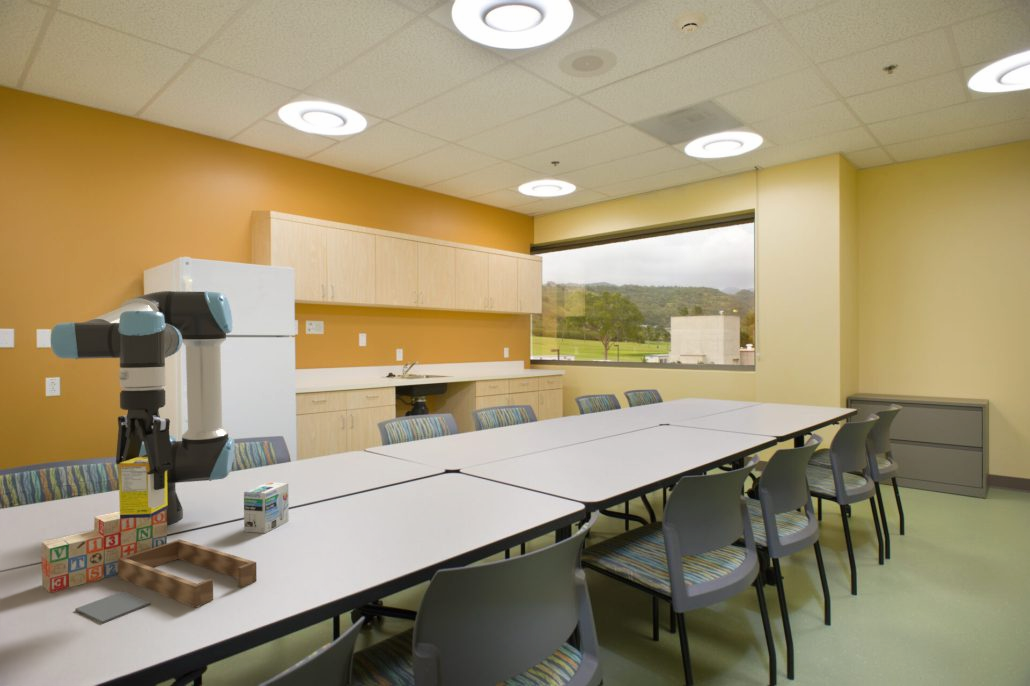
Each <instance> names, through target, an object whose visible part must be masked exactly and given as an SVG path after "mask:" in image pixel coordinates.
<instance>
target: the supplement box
mask: <svg viewBox="0 0 1030 686" xmlns="http://www.w3.org/2000/svg"><path fill="white" fill-rule="evenodd" d="M149 471H151V470H150V466H149V462H148V458H147V457H136V458H133V459H130V460H127V461H124V462H121V463H120V464H118V488H119V489H118V491H119V492H118V493H119V495H118V496H119V497H118V498H119V511H120V519H121V518H151V517H153V516H155V515H157V514H158V513H160V512H162V511H164V510H166V509H167V508H168V501H167V500H168V499H167V471H165V504H163V505H159V506H155V507H151V508H149V507H148V474H147V472H149Z"/></svg>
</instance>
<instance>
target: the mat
mask: <svg viewBox="0 0 1030 686" xmlns="http://www.w3.org/2000/svg"><path fill="white" fill-rule="evenodd" d="M150 605H151V602H149V601H147V600H145V599H142V598H139V597H137V596H135V595H133V594H129V593H127V592H125V591H120V592H116V593H114V594H111V595H108V596H106V597H103V598H100V599H98V600H94V601H92V602H90V603H87V604H84V605H82V606H77V607H76V608H75V611H76V612H77V613H80V614H82V615H84V616H86V617H88V618H91V619H92V620H94V621H96V622H99V623H101V624H102V625H103V624H105V623H107V622H110V621H112V620H116V619H117V618H120V617H122V616H125V615H128V614H130V613H133V612H134V611H135V612H136V611H137V610H138V611H139V609H142V608H146V607H148V606H150Z"/></svg>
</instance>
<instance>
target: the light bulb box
mask: <svg viewBox="0 0 1030 686" xmlns="http://www.w3.org/2000/svg"><path fill="white" fill-rule="evenodd" d="M289 505H290V504H289V483H287V482H286V483H285V482H272V481H268V482H266V483H262V484H260V485H258V486H256V487H253V488H251V489H247V490H246V491H244V492H243V524H244V525H243V532H248V533H259V534H266V533H268V532H270V531H272V530H274V529H276V528H278V527H280V526H282V525H283V524H286V523H287V522H289V520H290V519H289V517H290V516H289V515H290V514H289V510H290V508H289Z"/></svg>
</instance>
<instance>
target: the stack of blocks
mask: <svg viewBox="0 0 1030 686" xmlns="http://www.w3.org/2000/svg"><path fill="white" fill-rule="evenodd" d="M93 518H94V521H93V522H94V523H93V524H94V525H93V528H94V529H93V530H90V531H85V532H80V533H76V534H72V535H66V536H63V537H62V536H61V537H57V538H54V539H48V540H43V541H42V542H41V581H42V582H41V583H42V586H43V587H44V589H45V590H46V591H47V592H48V593H54V592H57V591H60V590H65V589H67V588H73V587H76V586H79V585H80V586H81V585H82V584H83V585H84V584H86V583H90V582H91V583H92V582H94V581H98V580H102V579H104V578H108V577H111V576H112V577H113V576H115V575H118V559H119V558H122V557H126V556H129V555H132V554H135V553H138V552H141V551H144V550H148V549H151V548H154V547H157V546H160V545H163V544H166V543H168V540H167V537H168V535H167V534H168V525H167V522H166V510H164V511H162V512H160V513H158V514H157V515H155V516H153V517H151V518H121V519H120V510H119V511H115V512H110V513H107V514H106V513H105V514H100V515H95V516H94V517H93Z"/></svg>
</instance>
